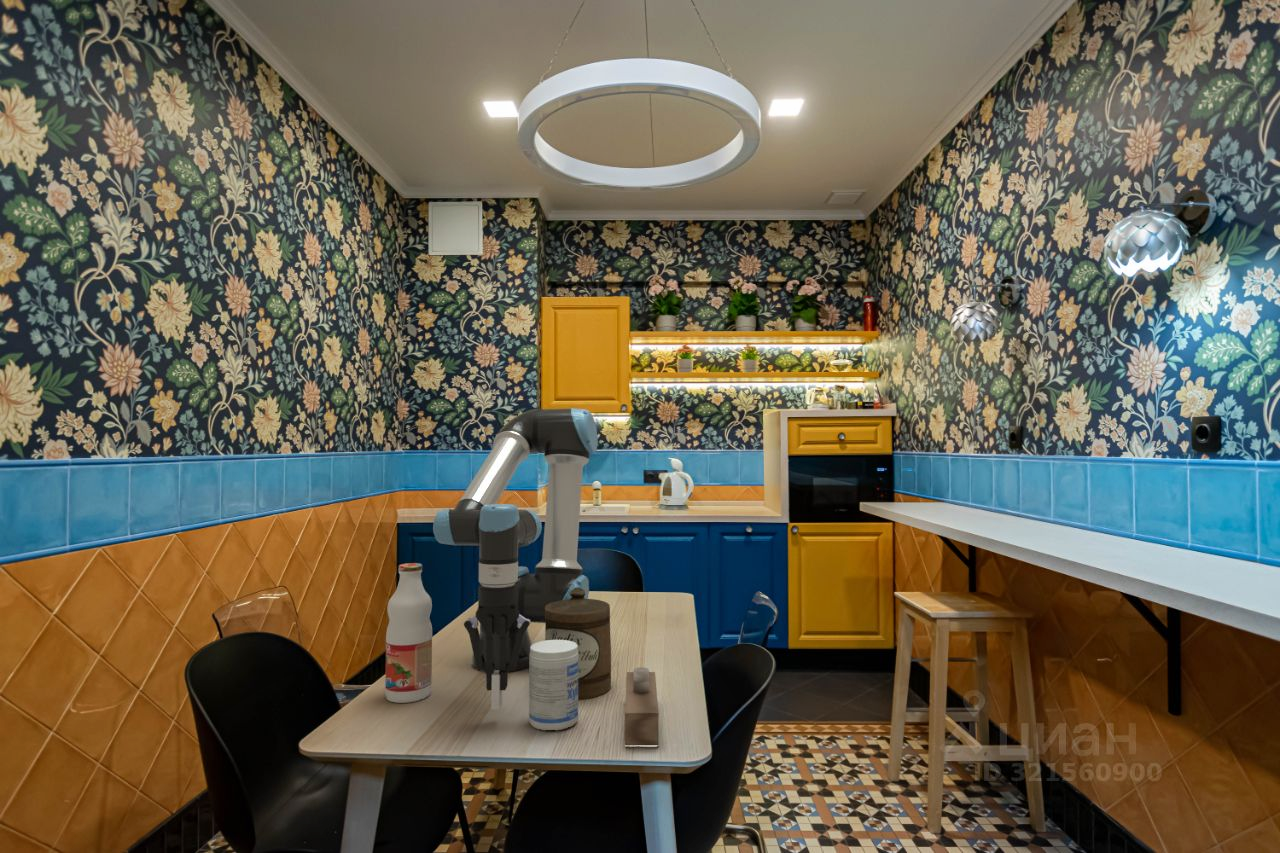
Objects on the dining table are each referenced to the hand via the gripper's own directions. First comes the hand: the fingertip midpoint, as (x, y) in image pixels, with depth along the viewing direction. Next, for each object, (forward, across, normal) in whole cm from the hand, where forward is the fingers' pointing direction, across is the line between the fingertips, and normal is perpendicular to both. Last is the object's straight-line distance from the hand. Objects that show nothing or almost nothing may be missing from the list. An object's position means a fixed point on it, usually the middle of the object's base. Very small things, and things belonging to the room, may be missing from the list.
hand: (496, 706), depth 127 cm
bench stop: (+3, +28, 0) cm, 28 cm away
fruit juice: (+3, -22, +14) cm, 26 cm away
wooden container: (+3, +14, +19) cm, 24 cm away
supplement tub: (+3, +11, 0) cm, 11 cm away
